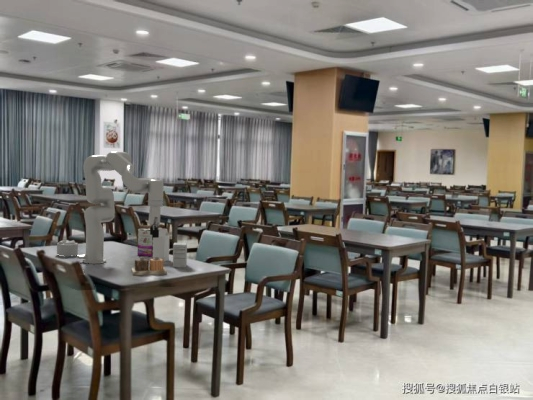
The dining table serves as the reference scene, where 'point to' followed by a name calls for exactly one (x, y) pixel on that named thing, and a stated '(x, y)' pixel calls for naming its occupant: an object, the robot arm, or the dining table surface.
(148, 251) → the candy bar box
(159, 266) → the orange gear
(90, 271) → the dining table surface
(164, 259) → the milk carton
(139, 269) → the gear board
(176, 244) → the supplement box
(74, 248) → the lumpy-topped squat cylinder
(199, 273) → the dining table surface
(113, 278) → the dining table surface
